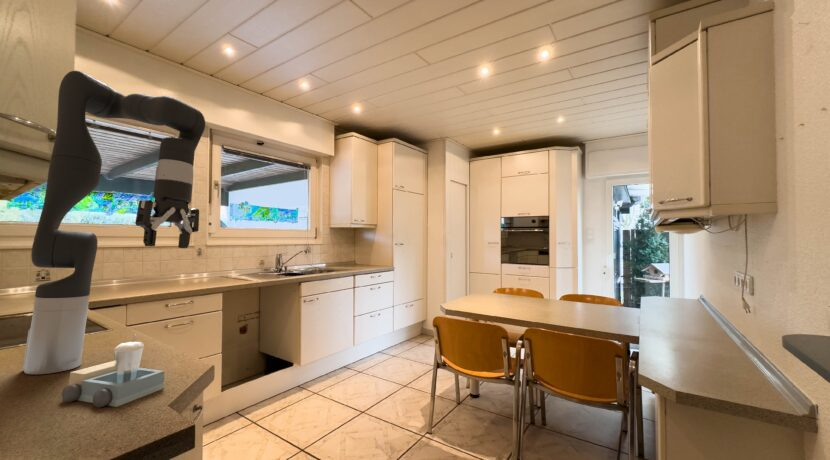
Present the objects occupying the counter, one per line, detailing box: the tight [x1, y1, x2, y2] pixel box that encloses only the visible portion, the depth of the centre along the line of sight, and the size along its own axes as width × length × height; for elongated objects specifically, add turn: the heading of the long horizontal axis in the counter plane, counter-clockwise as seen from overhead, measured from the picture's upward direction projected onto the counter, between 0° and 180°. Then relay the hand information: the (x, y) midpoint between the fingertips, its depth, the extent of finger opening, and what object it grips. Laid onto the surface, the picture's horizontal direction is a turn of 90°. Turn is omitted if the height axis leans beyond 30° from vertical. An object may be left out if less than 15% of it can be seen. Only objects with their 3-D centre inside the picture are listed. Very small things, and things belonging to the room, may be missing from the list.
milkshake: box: [113, 334, 145, 384], centre depth 68 cm, size 5×5×10 cm
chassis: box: [61, 360, 165, 408], centre depth 67 cm, size 13×11×5 cm
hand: (167, 247), depth 80 cm, fingers open, 8 cm apart
